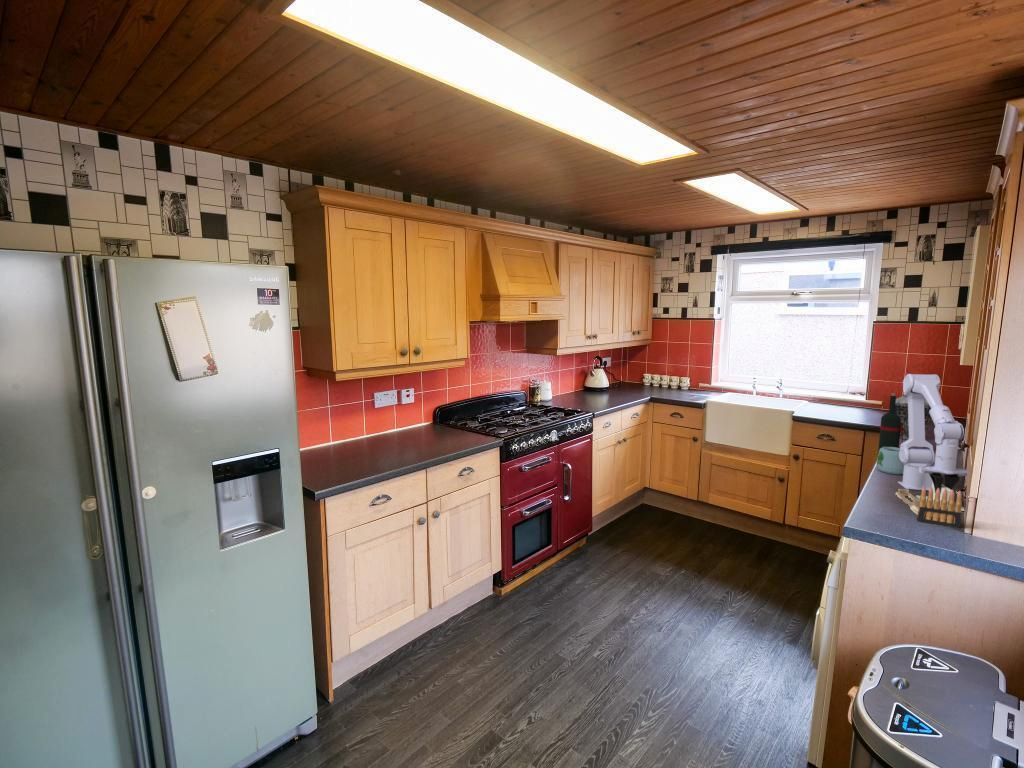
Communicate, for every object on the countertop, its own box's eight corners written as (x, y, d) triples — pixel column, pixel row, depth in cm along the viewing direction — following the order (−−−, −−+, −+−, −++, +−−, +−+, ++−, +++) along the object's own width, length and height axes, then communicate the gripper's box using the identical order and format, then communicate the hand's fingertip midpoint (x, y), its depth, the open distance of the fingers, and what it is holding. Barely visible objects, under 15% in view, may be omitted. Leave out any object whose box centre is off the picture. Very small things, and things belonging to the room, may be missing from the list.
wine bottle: (903, 459, 236) (909, 395, 231) (876, 455, 242) (881, 393, 238) (905, 456, 241) (911, 393, 237) (879, 452, 248) (884, 391, 244)
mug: (866, 464, 229) (868, 443, 227) (894, 465, 227) (896, 443, 225) (884, 475, 214) (886, 452, 213) (913, 476, 212) (916, 453, 211)
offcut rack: (912, 496, 190) (912, 488, 189) (939, 517, 170) (940, 508, 170) (893, 494, 191) (893, 487, 191) (917, 515, 172) (918, 506, 172)
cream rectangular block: (937, 498, 186) (938, 482, 185) (951, 507, 176) (953, 491, 176) (930, 497, 186) (932, 481, 186) (944, 507, 177) (946, 490, 176)
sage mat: (948, 499, 186) (948, 497, 186) (968, 512, 174) (968, 511, 173) (915, 496, 189) (916, 495, 189) (932, 509, 177) (933, 508, 176)
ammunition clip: (959, 526, 163) (963, 490, 161) (960, 528, 161) (964, 491, 160) (916, 519, 169) (920, 484, 167) (917, 521, 167) (921, 486, 165)
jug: (897, 442, 267) (903, 385, 263) (880, 433, 286) (884, 380, 282) (943, 443, 263) (949, 385, 259) (922, 435, 281) (928, 380, 277)
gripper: (926, 458, 177) (922, 496, 179) (977, 461, 173) (973, 500, 175) (917, 453, 184) (913, 489, 186) (966, 455, 180) (962, 493, 181)
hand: (942, 494), depth 181 cm, fingers closed on cream rectangular block, 2 cm apart
